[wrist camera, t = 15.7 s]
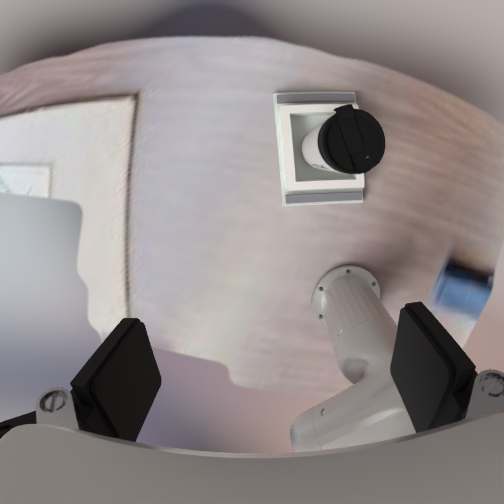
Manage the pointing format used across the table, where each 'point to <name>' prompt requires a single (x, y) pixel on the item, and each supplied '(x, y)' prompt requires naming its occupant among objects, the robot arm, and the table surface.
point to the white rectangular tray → (290, 157)
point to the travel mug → (345, 142)
